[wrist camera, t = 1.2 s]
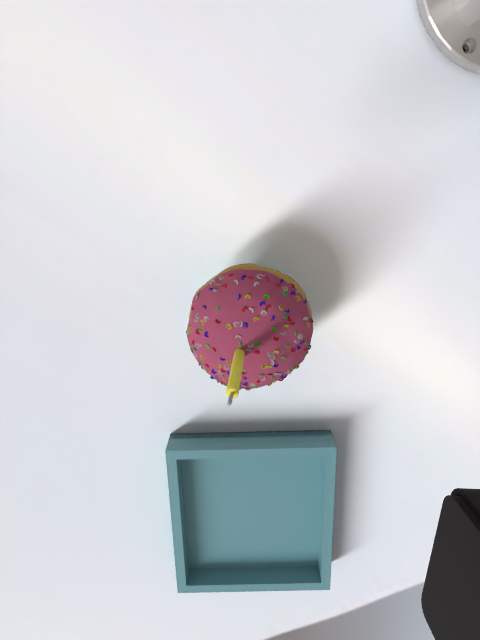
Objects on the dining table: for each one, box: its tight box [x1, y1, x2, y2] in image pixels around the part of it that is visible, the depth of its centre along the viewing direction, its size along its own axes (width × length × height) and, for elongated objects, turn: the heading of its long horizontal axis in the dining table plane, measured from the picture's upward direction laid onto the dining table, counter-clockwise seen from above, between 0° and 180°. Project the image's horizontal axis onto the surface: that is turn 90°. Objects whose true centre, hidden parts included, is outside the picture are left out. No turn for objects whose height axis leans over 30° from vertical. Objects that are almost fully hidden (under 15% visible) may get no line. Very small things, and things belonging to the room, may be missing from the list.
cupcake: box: [186, 264, 313, 405], centre depth 26 cm, size 9×8×12 cm
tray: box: [166, 430, 337, 593], centre depth 36 cm, size 14×15×2 cm
